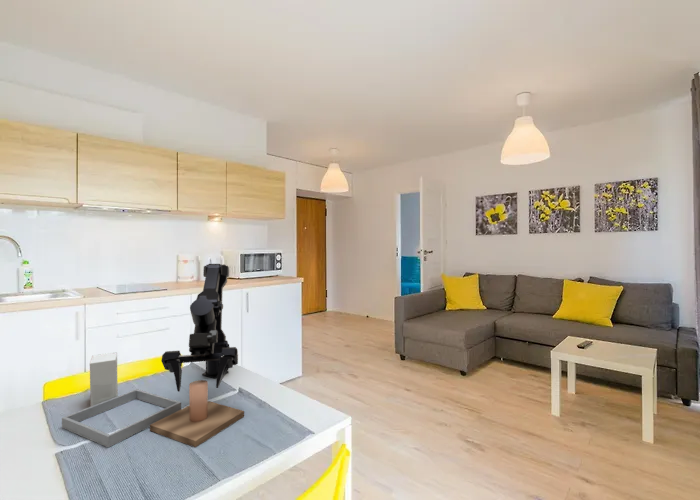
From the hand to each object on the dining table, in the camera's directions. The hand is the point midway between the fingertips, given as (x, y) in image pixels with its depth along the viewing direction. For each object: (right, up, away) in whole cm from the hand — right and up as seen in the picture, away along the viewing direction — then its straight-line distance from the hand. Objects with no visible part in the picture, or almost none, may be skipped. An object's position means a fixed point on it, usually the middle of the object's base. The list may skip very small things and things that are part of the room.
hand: (197, 389), depth 90 cm
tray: (-21, -9, +4) cm, 23 cm away
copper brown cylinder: (0, -8, +2) cm, 8 cm away
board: (0, -10, +2) cm, 10 cm away
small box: (-34, -9, +14) cm, 38 cm away
